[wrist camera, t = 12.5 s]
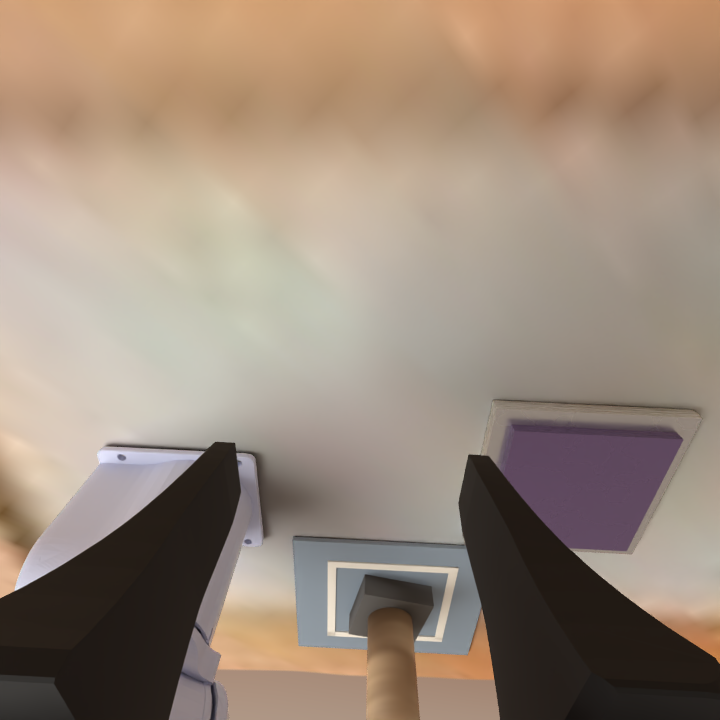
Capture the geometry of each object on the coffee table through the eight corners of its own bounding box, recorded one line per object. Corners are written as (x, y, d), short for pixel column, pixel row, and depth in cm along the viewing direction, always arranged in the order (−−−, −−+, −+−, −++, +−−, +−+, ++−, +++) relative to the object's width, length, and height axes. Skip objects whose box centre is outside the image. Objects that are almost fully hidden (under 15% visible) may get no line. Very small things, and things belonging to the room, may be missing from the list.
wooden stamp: (349, 613, 33) (343, 735, 26) (364, 574, 31) (362, 696, 24) (411, 624, 33) (420, 746, 27) (431, 586, 31) (446, 709, 24)
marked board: (299, 642, 36) (298, 647, 35) (293, 536, 29) (292, 541, 29) (466, 651, 35) (467, 656, 35) (496, 547, 29) (498, 552, 29)
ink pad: (462, 535, 29) (466, 553, 28) (493, 400, 24) (499, 415, 22) (625, 543, 29) (636, 562, 27) (692, 409, 23) (710, 425, 22)
